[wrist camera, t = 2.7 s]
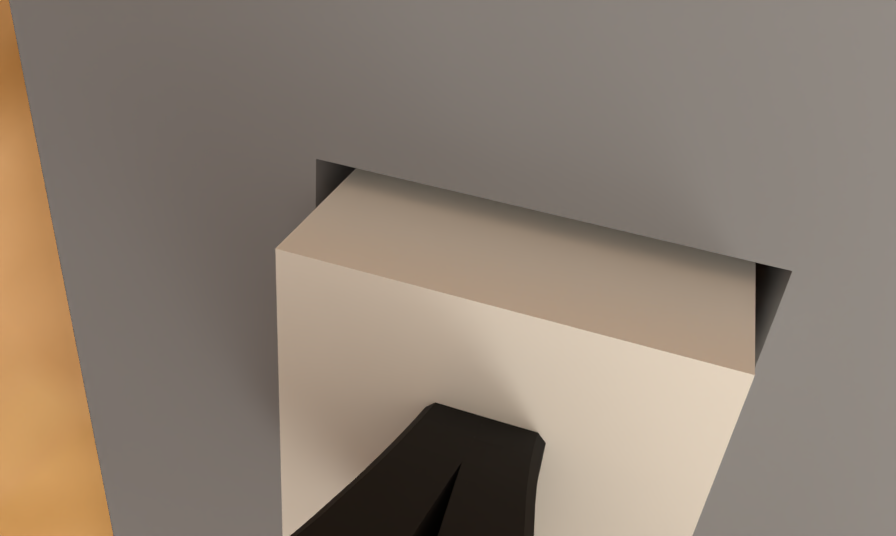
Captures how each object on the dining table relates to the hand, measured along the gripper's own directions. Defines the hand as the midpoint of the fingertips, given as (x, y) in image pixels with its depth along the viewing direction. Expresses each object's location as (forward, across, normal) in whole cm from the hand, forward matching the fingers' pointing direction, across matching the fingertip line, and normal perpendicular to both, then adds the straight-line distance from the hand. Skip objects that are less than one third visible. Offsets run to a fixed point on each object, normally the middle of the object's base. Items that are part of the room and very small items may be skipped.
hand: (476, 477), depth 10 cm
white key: (+3, 0, 0) cm, 3 cm away
